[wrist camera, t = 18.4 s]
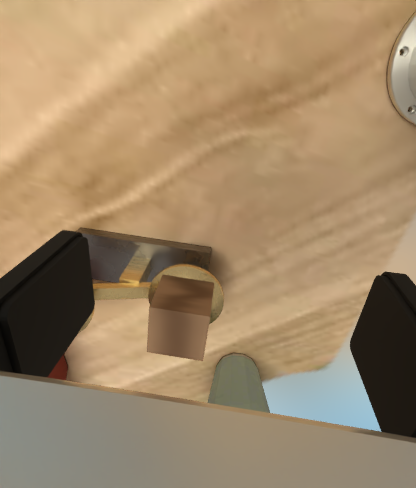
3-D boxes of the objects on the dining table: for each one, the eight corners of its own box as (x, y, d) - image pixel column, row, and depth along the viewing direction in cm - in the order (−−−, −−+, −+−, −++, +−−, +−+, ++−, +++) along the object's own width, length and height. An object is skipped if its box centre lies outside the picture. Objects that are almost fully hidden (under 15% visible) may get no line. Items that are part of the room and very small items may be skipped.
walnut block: (214, 282, 36) (210, 316, 30) (207, 322, 38) (202, 361, 33) (162, 274, 36) (149, 307, 30) (159, 315, 39) (146, 351, 33)
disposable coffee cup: (192, 361, 52) (177, 456, 39) (242, 330, 48) (243, 423, 35) (234, 396, 55) (233, 496, 42) (284, 369, 51) (301, 469, 38)
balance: (230, 243, 42) (227, 296, 31) (220, 298, 46) (215, 361, 35) (62, 218, 42) (2, 261, 32) (67, 273, 46) (16, 329, 36)
